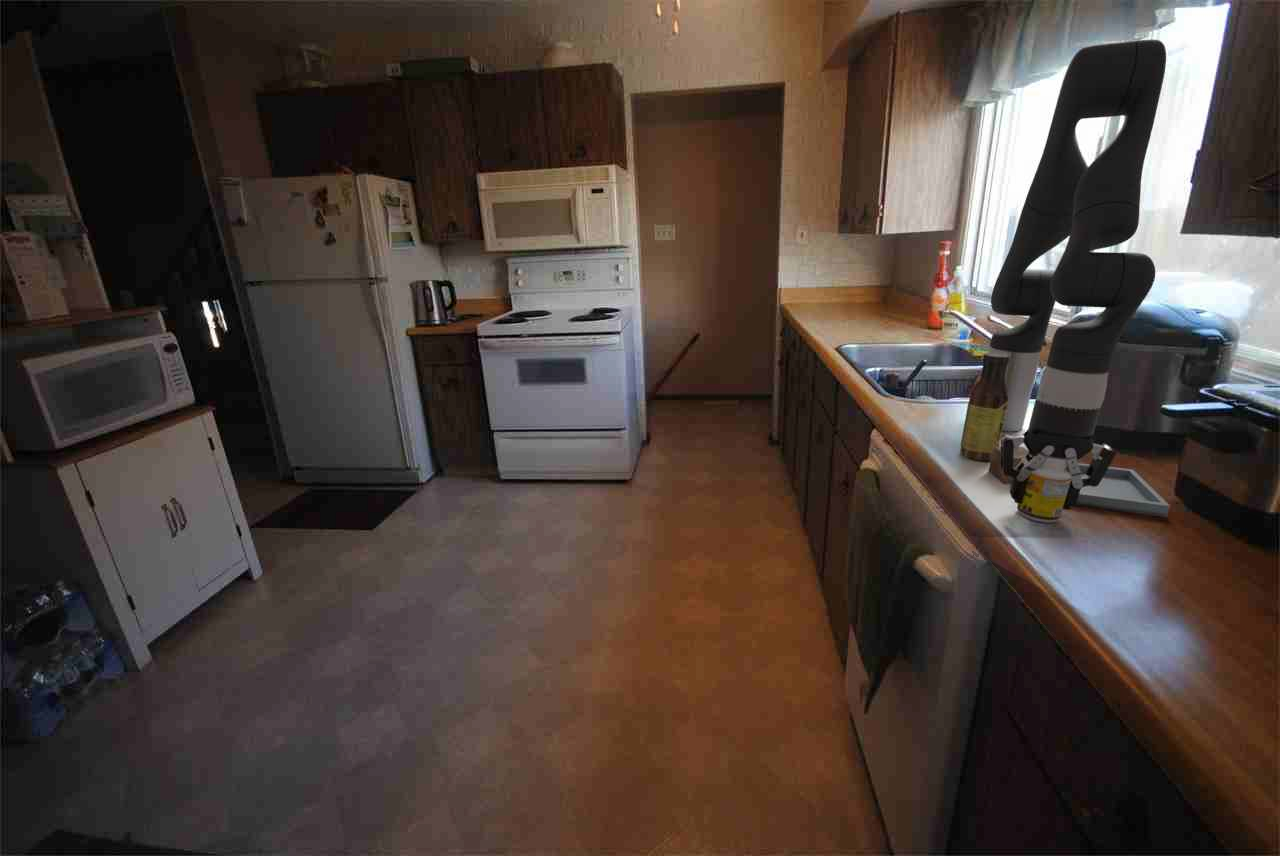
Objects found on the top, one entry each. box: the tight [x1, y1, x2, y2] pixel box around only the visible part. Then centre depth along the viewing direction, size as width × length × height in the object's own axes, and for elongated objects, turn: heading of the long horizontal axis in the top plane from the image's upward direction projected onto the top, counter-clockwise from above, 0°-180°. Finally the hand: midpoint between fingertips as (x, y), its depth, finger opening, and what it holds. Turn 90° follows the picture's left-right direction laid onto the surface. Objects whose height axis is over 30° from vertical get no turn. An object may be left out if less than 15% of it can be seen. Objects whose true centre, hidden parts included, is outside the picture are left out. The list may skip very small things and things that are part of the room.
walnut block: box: [987, 446, 1028, 485], centre depth 98 cm, size 5×5×5 cm
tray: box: [1075, 462, 1171, 519], centre depth 93 cm, size 14×14×2 cm
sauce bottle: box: [960, 352, 1009, 462], centre depth 104 cm, size 6×6×20 cm
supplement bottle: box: [1016, 457, 1072, 524], centre depth 84 cm, size 6×6×10 cm
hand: (1040, 503), depth 85 cm, fingers closed on supplement bottle, 5 cm apart
